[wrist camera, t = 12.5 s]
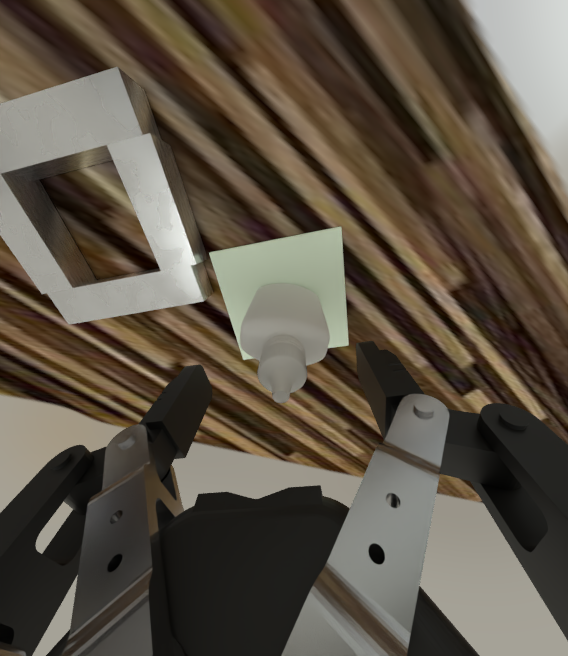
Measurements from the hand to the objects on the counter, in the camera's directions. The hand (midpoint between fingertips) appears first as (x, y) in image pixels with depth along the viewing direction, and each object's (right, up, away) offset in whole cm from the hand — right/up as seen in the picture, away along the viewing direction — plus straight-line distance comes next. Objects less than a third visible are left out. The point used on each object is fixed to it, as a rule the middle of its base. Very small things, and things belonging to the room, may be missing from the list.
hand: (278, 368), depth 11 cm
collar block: (-14, +11, +7) cm, 19 cm away
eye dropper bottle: (+1, +5, +9) cm, 10 cm away
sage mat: (0, +5, +9) cm, 11 cm away
